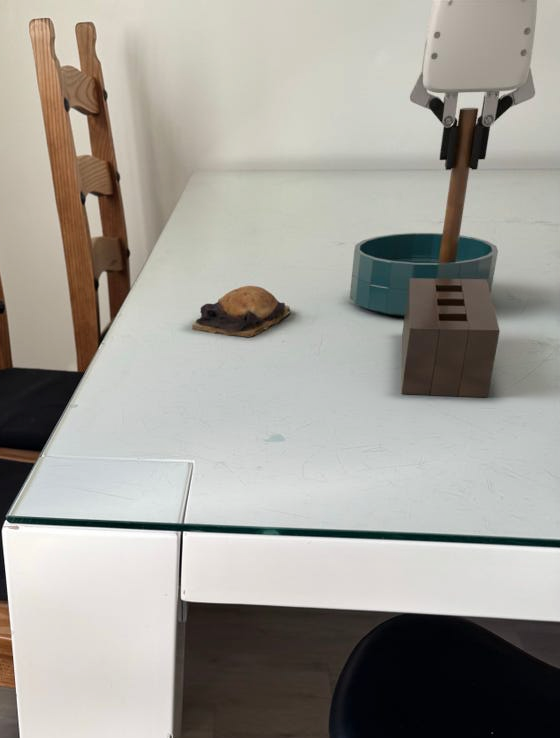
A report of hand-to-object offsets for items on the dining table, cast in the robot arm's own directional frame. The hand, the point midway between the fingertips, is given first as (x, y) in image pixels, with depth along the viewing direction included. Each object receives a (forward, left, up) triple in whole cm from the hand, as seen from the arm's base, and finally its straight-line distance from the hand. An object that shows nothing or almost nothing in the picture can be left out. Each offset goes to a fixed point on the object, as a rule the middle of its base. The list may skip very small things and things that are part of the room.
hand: (460, 166), depth 106 cm
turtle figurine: (+22, +8, -15) cm, 27 cm away
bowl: (+3, -1, -14) cm, 15 cm away
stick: (0, 0, -13) cm, 13 cm away
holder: (+1, +21, -14) cm, 26 cm away
